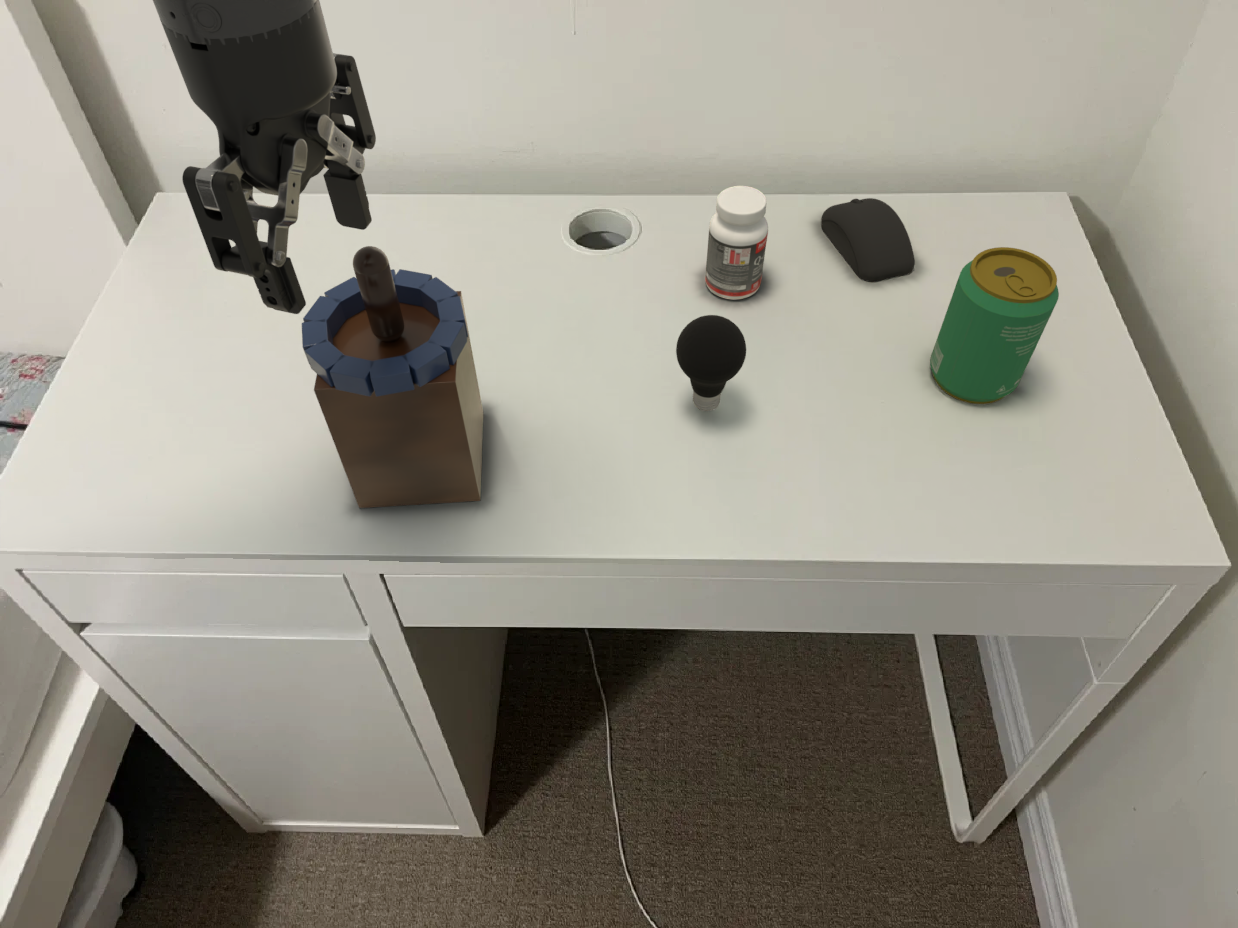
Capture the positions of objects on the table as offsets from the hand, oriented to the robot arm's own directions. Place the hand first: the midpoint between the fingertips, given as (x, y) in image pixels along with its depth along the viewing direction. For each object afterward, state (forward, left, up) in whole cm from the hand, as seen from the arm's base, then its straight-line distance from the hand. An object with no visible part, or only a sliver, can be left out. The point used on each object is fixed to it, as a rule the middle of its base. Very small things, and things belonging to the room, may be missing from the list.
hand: (323, 264), depth 57 cm
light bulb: (+27, +9, -25) cm, 37 cm away
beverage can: (+52, +11, -25) cm, 58 cm away
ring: (+2, +4, -10) cm, 11 cm away
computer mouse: (+47, +31, -25) cm, 61 cm away
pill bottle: (+32, +26, -25) cm, 48 cm away
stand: (+2, +5, -24) cm, 25 cm away
